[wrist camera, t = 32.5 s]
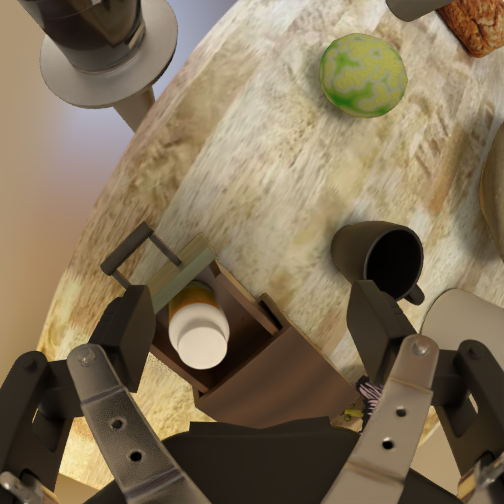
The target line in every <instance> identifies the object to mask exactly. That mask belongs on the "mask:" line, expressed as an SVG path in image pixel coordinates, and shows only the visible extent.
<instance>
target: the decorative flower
mask: <svg viewBox="0 0 504 504" xmlns="http://www.w3.org/2000/svg"><path fill="white" fill-rule="evenodd" d="M356 384H357V385H356V387H357V389H358V391H359V392H360V394H361V395H362V396H363V397H365V400H363V402H364V405H365V407H364V409H363V411H361V410H357V409H351V408H353V407H354V406H355V404H354V402H353V403H352V404H351V405H350V406H349V408H347V409H345V410H344V411H343V412H342V413H341V414H340V415H343V414H348V415H346V416H345V420H346V421H350V420H351V416H350V415H352V416H357V417H360V418H362V420H363V424H362V430H361V431H359V432H358V433H359V434H362V432H363V430H364V428H365V426H366V424H367V422H368V420H369V418H370V416H371V414H372V412H373V410H374V408H375V406H376V404H377V402H378V399H379V397H380V395H381V393H382V391H383V388H384V386H383V384H382V385H376V386H372V384H371V382H370V379H369V377H367V376H364V375H363V376H362V377H361V378H360V379H359V380H358V382H356Z"/></svg>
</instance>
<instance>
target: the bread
mask: <svg viewBox="0 0 504 504" xmlns="http://www.w3.org/2000/svg"><path fill="white" fill-rule="evenodd" d="M438 11H439V12H440V14H441V15H442V16H443V18H444V19H445V21H446V22H447V24H448V25H449V27H450V28H451V29H452V30H453V32H454V33H455V34H456V35H457V37H458V38H459V39H460V40H461V41H462V42H463V43H464V45H465V46H466V47H467V49H468V50H469V51H470V53H471V54H472V55H473V56H474V57H477V58H481V57H483V56H485V55H487V54H489V53H491V52H492V51H493V50H495V49H498V48H500V47H502V46H504V2H503V0H456V1H454V2H452V3H449V4H447V5H445V6H443V7H441V8H438Z"/></svg>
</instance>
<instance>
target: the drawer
mask: <svg viewBox="0 0 504 504" xmlns="http://www.w3.org/2000/svg"><path fill="white" fill-rule="evenodd" d="M154 232H155V230H154V228H153V227H152V226H151V225H150V224H149V223H148V222H147V221H146V220H144V221H143V222H142V223H141V224H140V225H139V226H138V227H137V228H136V229H135V230H134V231H133V232H132V233H131V234H130V235H129V236H128V237H127V238H126V239H125V240H124V241H123V242H122V243H121V244H120V245H119V246H118V247H117V248H116V249H115V250H114V251H113V252H112V253H111V254H110V255H109V256H108V257H107V258H106V260H105V261H104V262H103V263H102V264H101V265H100V267H101V269H102V271H103V272H104V273H105V274H107V275H108V276H111V275H112V276H113V277H114V278H115V279H116V280H117V281H118V282H119V283H120V284H121V285H122V286H123V287H124V288H125V289H127V287H128V286H129V285H132V284H131V283H130V282H129V281H128V280H127V279H126V278H125V277H124V276H123V275H122V274H121V273H120V272H119V271H118V270H117V269H118V268H119V267H120V266H121V265H122V264H123V263H124V262H125V261H126V260H127V259H128V258H129V257H130V255H131V254H132V253H133V252H134V251H135V250H136V249H137V248H138V247H139V246H141V245H142V244H143V243H144V242H145V241H146V240H147V239H148V238H150V240H151V241H152V242H153V243H154V244H155V245H156V246H157V247H158V248H159V249H160V250H161V251H162V252H163V253H164V254H165V255H166V256H167V257H168V258H169V259H170V260H171V261H170V262H169V263H168V264H167V265H166V266H164V267H163V268H162V269H161V270H160V271H159V272H158V273H157V274H156V275H155V276H154V277H153V278H152V279H151V280H150V281H149V282H148V283H147V284H146V285H148V287H149V289H150V294H151V299H152V304H153V309H154V314H155V320H156V328H155V333H154V336H153V340H152V343H151V346H150V349H149V352H151V353H152V354H153V355H154V356H155V357H157V358H158V359H159V360H160V361H162V362H163V363H164V364H165V365H167V366H168V367H169V368H170V369H172V370H173V371H174V372H175V373H177V374H178V375H179V376H181V377H182V378H183V379H185V380H186V381H187V382H188V383H190V384H191V385H192V386H194V387H195V388H197V389H198V390H199V391H201V392H202V393H203V394H205V393H207V392H208V391H209V390H210V389H212V388H213V387H214V386H215V385H217V384H218V383H219V382H220V381H221V380H223V379H224V378H225V377H226V376H228V375H229V374H230V373H231V372H232V371H234V370H235V369H236V368H237V367H238V366H240V365H241V364H242V363H243V362H244V361H245V360H247V359H248V358H249V357H250V356H251V355H252V354H254V353H255V352H256V351H257V350H258V349H259V348H261V347H262V346H263V345H264V344H265V343H266V342H267V341H269V340H270V339H271V338H272V337H273V336H274V335H275V334H276V333H278V332H279V331H280V330H281V329H282V328H281V327H280V325H279V324H278V323H277V321H276V320H275V319H274V318H273V317H272V316H271V315H270V314H269V313H268V312H267V311H266V310H265V309H264V308H263V307H262V306H261V305H260V304H259V303H258V301H257V300H256V299H255V298H254V297H253V296H252V295H251V294H250V293H249V292H248V291H247V290H246V289H245V288H244V287H243V286H242V285H241V284H240V283H239V282H238V281H237V280H236V279H235V278H234V277H233V276H232V275H231V274H230V273H229V271H228V270H227V269H226V268H225V267H224V266H223V265H222V264H221V263H220V262H219V261H218V260H217V259H216V257H217V255H216V253H215V251H214V249H213V248H212V246H211V244H210V242H209V241H208V239H207V238H206V237H205V236H204V235H203V234H202V233H200V234H198V235H197V236H196V237H195V238H194V239H193V240H192V241H191V242H190V243H189V244H188V245H187V246H186V247H184V248H183V249H182V250H181V251H180V252H179V253H178V254H177V255H175V254H174V253H173V252H172V251H171V250H170V249H169V248H168V247H167V245H166V244H165V243H164V242H163V241H162V240H161V239H160V238H159V237H158V236H157V235H156V234H155V233H154ZM189 282H201V283H204V284H206V285H208V286H209V287H211V288H212V289H213V290H214V292H215V293H216V295H217V297H218V299H219V301H220V304H221V306H222V309H223V311H224V314H225V316H226V319H227V321H228V325H229V338H228V341H227V352H226V355H225V357H224V358H223V360H222V361H221V362H220V363H219V364H217V365H216V366H214V367H211V368H208V369H196V368H192V367H190V366H188V365H187V364H185V363H184V362H183V361H182V359H181V358H180V356H179V353H178V352H177V351H176V350H175V348H174V347H173V345H172V343H171V341H170V338H169V301H170V300H171V299H172V298H173V297H174V296H175V295H176V294H178V293H179V292H180V291H181V290H182V289H183V288H184V287H185V286H186V285H187V284H188V283H189Z"/></svg>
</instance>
